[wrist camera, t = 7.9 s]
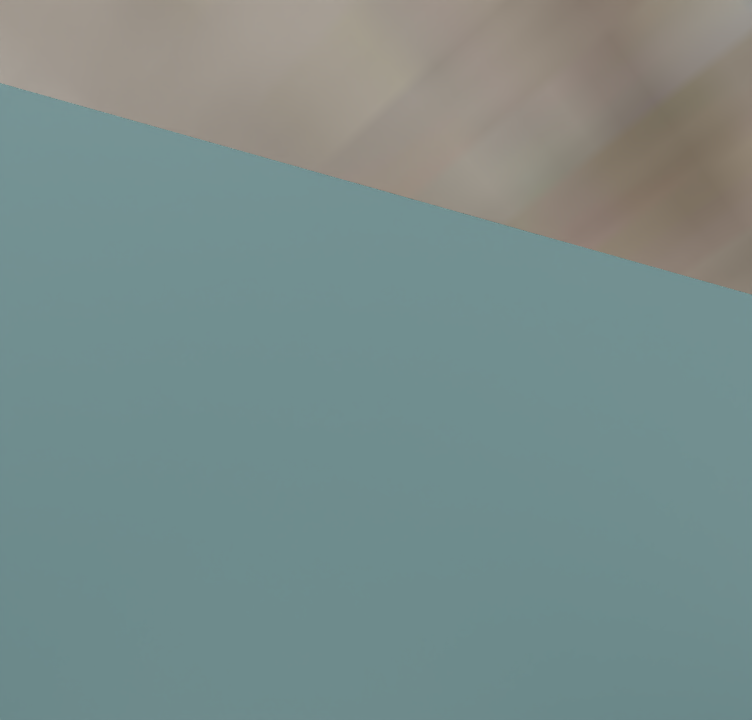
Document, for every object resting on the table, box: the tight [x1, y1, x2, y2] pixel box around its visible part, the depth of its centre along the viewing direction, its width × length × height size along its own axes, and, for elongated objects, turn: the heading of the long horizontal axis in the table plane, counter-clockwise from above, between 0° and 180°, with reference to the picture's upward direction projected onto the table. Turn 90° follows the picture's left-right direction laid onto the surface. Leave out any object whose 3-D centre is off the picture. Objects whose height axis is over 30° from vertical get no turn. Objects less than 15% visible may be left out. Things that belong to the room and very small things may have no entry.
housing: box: [0, 83, 752, 720], centre depth 8 cm, size 9×13×9 cm
